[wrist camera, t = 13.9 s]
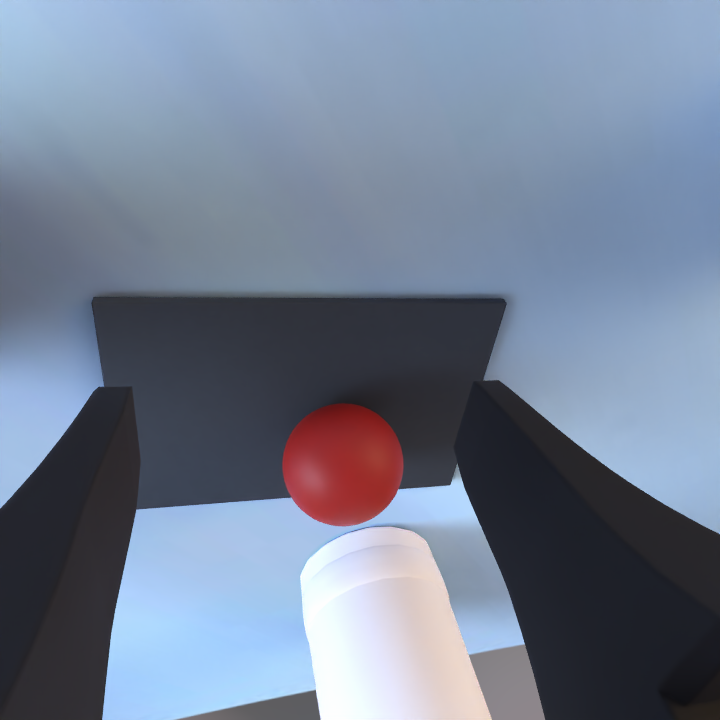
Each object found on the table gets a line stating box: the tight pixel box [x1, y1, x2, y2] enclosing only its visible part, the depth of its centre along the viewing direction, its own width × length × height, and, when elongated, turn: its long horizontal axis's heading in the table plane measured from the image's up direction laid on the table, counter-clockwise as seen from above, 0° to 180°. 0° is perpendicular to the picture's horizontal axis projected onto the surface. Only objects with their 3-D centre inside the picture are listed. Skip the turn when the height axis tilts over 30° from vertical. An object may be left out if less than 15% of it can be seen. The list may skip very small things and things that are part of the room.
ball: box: [282, 403, 403, 526], centre depth 25 cm, size 5×5×5 cm
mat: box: [92, 297, 507, 509], centre depth 26 cm, size 16×11×1 cm
